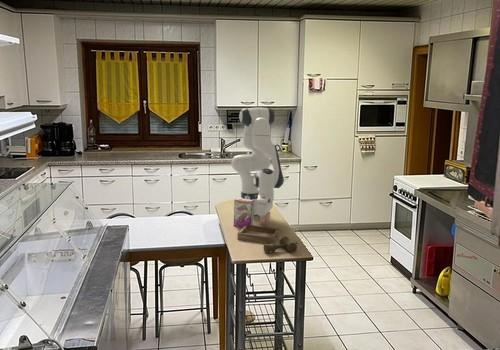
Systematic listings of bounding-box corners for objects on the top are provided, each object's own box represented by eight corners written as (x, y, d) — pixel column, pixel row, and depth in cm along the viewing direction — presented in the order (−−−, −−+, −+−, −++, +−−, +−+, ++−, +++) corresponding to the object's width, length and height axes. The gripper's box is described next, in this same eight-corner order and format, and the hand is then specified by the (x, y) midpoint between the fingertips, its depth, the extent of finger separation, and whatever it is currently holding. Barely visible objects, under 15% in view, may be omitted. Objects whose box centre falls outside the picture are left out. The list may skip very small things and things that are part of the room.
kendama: (260, 251, 232) (293, 244, 241) (269, 258, 224) (303, 251, 233) (260, 240, 231) (293, 234, 240) (269, 247, 223) (303, 240, 231)
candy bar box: (233, 225, 269) (233, 199, 265) (236, 223, 274) (236, 197, 270) (250, 228, 265) (251, 201, 262) (253, 225, 270) (254, 199, 267)
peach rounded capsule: (261, 223, 267) (262, 210, 265) (270, 224, 265) (271, 211, 264) (259, 226, 262) (259, 213, 260) (268, 227, 260) (268, 214, 258)
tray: (246, 230, 262) (246, 224, 261) (279, 234, 256) (279, 228, 255) (237, 239, 247) (237, 233, 246) (272, 243, 241) (272, 237, 240)
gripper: (265, 192, 270) (264, 213, 273) (255, 200, 251) (255, 224, 254) (275, 193, 268) (274, 215, 271) (266, 202, 249) (265, 225, 252)
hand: (265, 219), depth 263 cm, fingers closed on peach rounded capsule, 6 cm apart
